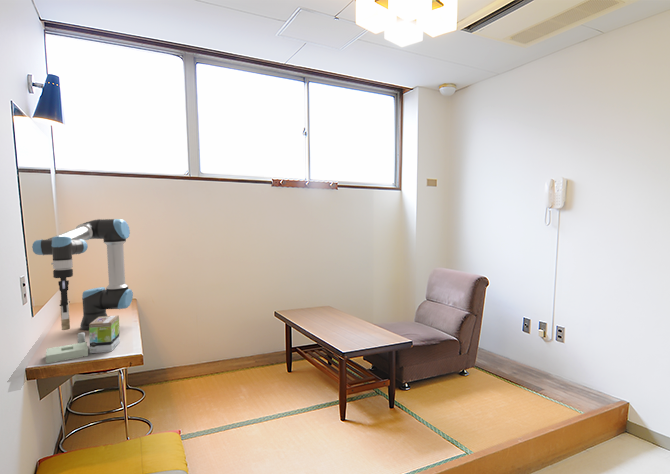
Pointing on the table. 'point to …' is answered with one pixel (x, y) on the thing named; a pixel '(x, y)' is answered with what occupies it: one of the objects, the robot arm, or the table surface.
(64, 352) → the hole plate
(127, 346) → the table surface
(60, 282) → the robot arm
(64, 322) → the long dowel
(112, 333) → the tea box
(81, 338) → the short rod
